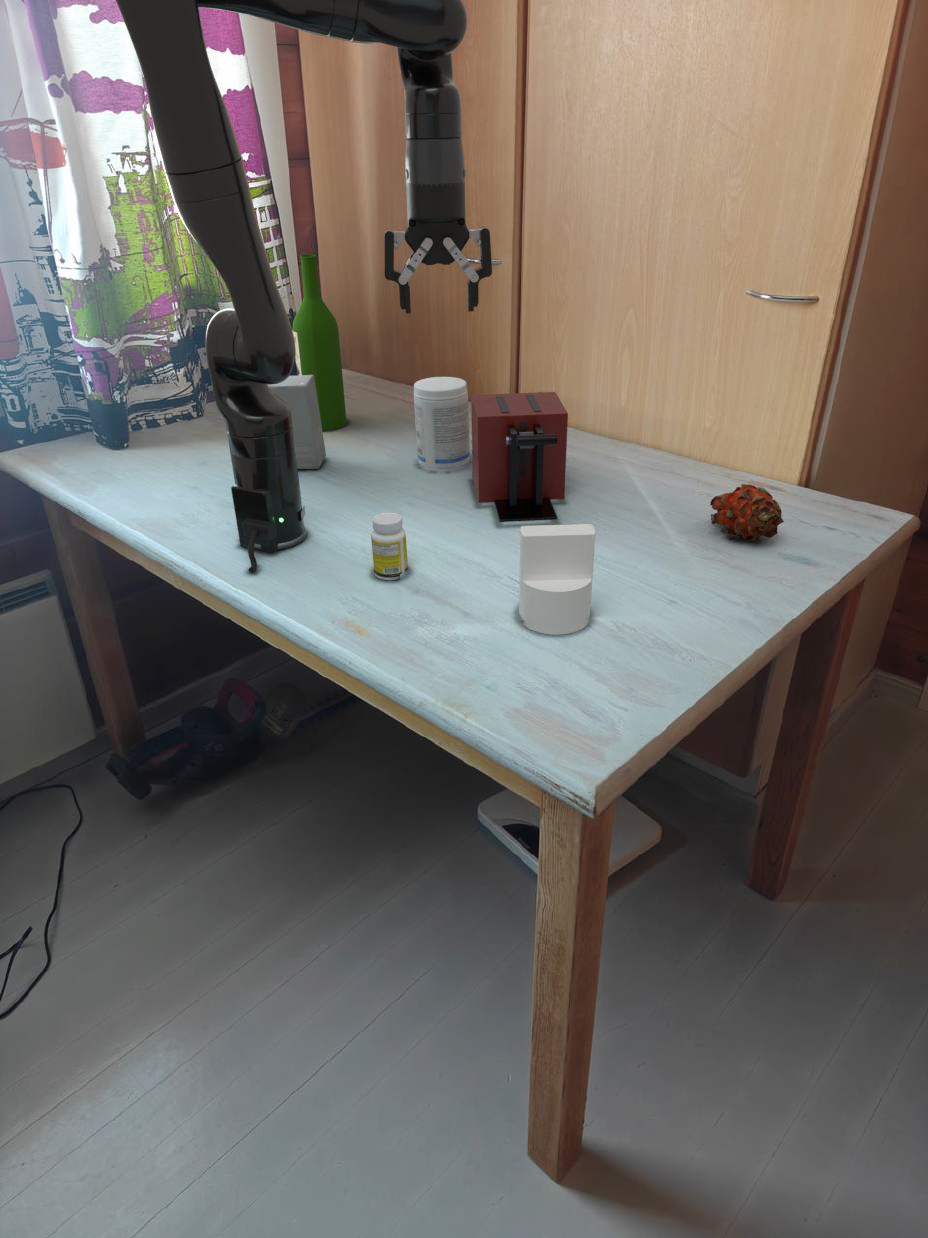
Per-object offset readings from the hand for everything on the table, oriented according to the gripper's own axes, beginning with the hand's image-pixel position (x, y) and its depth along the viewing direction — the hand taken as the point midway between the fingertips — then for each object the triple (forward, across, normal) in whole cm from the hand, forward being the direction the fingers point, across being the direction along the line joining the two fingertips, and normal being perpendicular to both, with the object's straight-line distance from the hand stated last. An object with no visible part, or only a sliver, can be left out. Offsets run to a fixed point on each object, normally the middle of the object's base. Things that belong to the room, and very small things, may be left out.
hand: (439, 311), depth 119 cm
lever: (+19, -13, +2) cm, 23 cm away
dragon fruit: (+32, -44, +8) cm, 55 cm away
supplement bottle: (+32, +8, +15) cm, 36 cm away
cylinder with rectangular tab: (+32, -12, +29) cm, 45 cm away
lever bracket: (+32, -13, -4) cm, 35 cm away
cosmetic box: (+32, +25, -31) cm, 51 cm away
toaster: (+32, -13, -13) cm, 37 cm away
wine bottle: (+32, +22, -54) cm, 67 cm away
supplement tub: (+32, -1, -28) cm, 43 cm away
